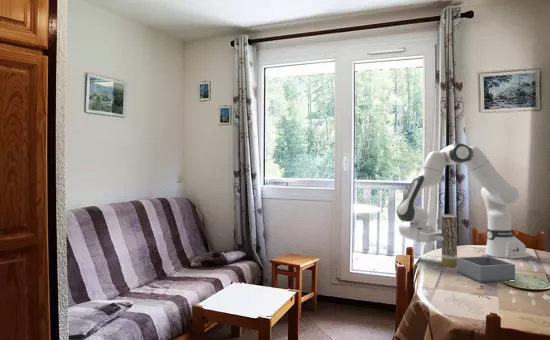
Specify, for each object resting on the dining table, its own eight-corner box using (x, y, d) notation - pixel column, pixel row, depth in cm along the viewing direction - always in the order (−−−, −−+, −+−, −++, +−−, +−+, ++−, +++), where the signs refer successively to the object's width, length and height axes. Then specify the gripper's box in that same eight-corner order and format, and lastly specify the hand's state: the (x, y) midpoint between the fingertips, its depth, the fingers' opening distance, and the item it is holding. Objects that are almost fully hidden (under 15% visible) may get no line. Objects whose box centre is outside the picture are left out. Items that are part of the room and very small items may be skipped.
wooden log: (458, 268, 184) (458, 216, 184) (443, 267, 185) (443, 215, 185) (455, 264, 191) (454, 214, 190) (440, 264, 192) (440, 214, 192)
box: (488, 271, 178) (488, 256, 178) (515, 281, 162) (514, 264, 162) (457, 272, 176) (456, 257, 175) (480, 283, 160) (480, 266, 160)
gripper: (439, 237, 205) (463, 241, 193) (413, 241, 194) (437, 246, 182) (439, 225, 205) (463, 229, 193) (413, 229, 194) (436, 233, 182)
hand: (450, 237), depth 187 cm, fingers open, 8 cm apart
